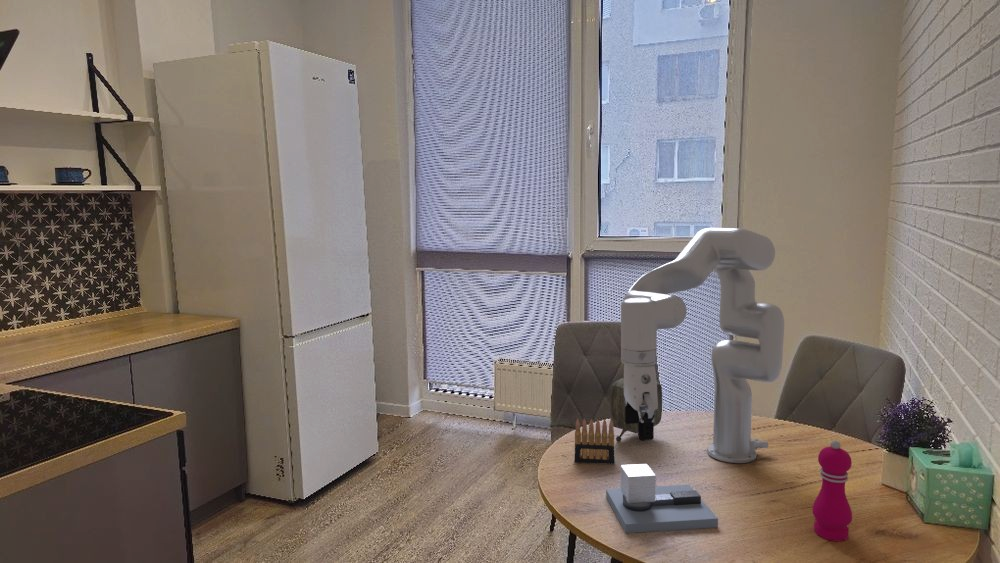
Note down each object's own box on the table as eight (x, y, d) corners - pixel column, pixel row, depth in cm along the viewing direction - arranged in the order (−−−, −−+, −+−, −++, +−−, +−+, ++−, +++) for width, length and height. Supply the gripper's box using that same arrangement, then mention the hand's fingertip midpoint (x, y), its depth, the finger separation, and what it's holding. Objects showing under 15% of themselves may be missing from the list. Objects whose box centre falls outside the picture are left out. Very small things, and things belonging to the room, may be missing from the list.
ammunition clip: (614, 461, 164) (614, 418, 163) (614, 464, 163) (615, 420, 161) (574, 459, 166) (574, 416, 165) (574, 462, 164) (574, 419, 163)
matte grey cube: (646, 488, 140) (646, 463, 139) (655, 501, 134) (655, 475, 133) (620, 490, 139) (620, 465, 138) (628, 503, 133) (628, 476, 133)
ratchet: (692, 494, 141) (693, 471, 140) (704, 507, 135) (704, 483, 134) (619, 498, 140) (619, 475, 139) (627, 512, 133) (627, 488, 133)
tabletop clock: (637, 428, 188) (638, 348, 185) (663, 436, 181) (664, 353, 178) (609, 442, 178) (609, 358, 175) (636, 450, 171) (637, 363, 168)
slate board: (688, 492, 146) (688, 484, 146) (717, 527, 130) (718, 518, 130) (606, 497, 144) (606, 489, 144) (625, 533, 129) (625, 524, 128)
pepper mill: (804, 525, 130) (808, 435, 128) (836, 523, 131) (841, 433, 128) (824, 544, 123) (829, 448, 121) (859, 541, 124) (864, 446, 121)
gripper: (669, 365, 124) (669, 445, 127) (643, 345, 141) (643, 416, 144) (633, 367, 124) (633, 447, 126) (611, 346, 141) (611, 418, 143)
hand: (638, 431), depth 135 cm, fingers open, 9 cm apart
